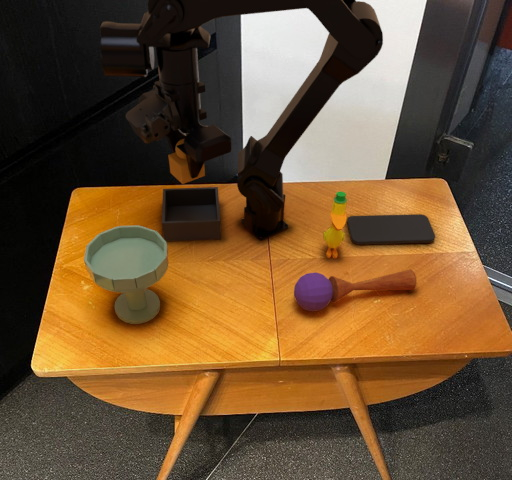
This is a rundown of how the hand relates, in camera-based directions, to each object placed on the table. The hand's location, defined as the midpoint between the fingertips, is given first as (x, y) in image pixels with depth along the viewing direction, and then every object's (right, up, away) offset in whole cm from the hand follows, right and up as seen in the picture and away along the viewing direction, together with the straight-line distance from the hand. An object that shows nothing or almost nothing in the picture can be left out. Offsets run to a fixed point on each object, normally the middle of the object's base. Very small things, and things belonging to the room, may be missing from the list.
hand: (187, 171), depth 91 cm
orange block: (0, 0, 0) cm, 1 cm away
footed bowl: (-7, -23, -5) cm, 25 cm away
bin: (0, -7, +9) cm, 11 cm away
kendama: (+27, -21, -3) cm, 35 cm away
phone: (+36, -9, +8) cm, 38 cm away
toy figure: (+25, -14, +4) cm, 28 cm away
